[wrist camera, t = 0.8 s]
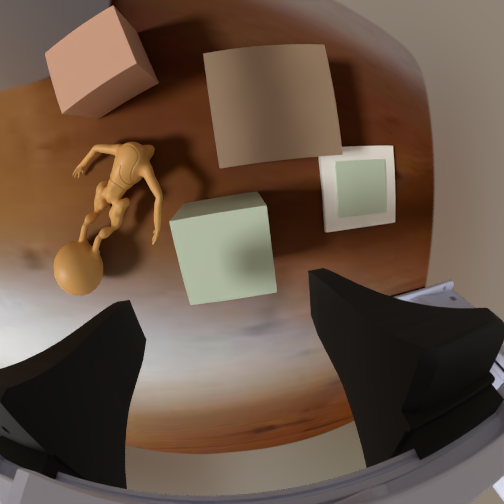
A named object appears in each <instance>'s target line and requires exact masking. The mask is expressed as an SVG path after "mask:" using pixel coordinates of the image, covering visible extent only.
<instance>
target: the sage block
mask: <svg viewBox="0 0 504 504" xmlns="http://www.w3.org/2000/svg"><path fill="white" fill-rule="evenodd" d="M169 222H170V227H171V231H172V235H173V240H174V244H175V248H176V252H177V256H178V260H179V264H180V268H181V272H182V276H183V280H184V284H185V287H186V291H187V295H188V298H189V302H190V305H196V304H203V303H210V302H218V301H224V300H231V299H238V298H244V297H251V296H257V295H263V294H270V293H276V292H277V289H276V280H275V271H274V262H273V254H272V245H271V237H270V229H269V221H268V213H267V205H266V204H265V202H264V201H263V199H262V198H261V196H260V195H259V193H258V192H257V191H256V192H249V193H243V194H236V195H230V196H224V197H218V198H212V199H206V200H200V201H195V202H189V203H184V204H183V206H182V207H181V208H180V209H179V210H178V212H177V213H176V214H175V215H174V216H173V218H172V219H171V220H170V221H169Z"/></svg>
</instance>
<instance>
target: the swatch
mask: <svg viewBox="0 0 504 504" xmlns="http://www.w3.org/2000/svg"><path fill="white" fill-rule="evenodd" d="M342 153H343V155H332V156H319V157H318V158H319V167H320V178H321V189H322V202H323V216H324V231H325V232H326V233H327V232H334V231H340V230H347V229H354V228H361V227H367V226H374V225H381V224H388V223H395V169H394V153H393V146H348V147H342Z"/></svg>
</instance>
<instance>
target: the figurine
mask: <svg viewBox="0 0 504 504" xmlns="http://www.w3.org/2000/svg"><path fill="white" fill-rule="evenodd" d="M154 150H155V148H154V146H152V145H141V144H139V143H137V142H127V143H125V144H114V145H111V144H97V145H95V146H94V147H93V148H92V149H91V151H90V152H89V153H88V154H87V156H86V157H85V158H84V159H83V161H82V162H81V163H80V164H79V165H78V166H77V168H76V169H75V171H74V173H73V175H74V174H75V173H76V174H75V177H76V175H77V173H78V178H79V176H80V173H81V172H82V173H83V174H84V170H83V167H84V166H85V165H86V164H88V163H89V161H90V160H91V159H92V158H93V157H94V156H95V155H96V154H97V153H98V152H102V153H107V154H112V155H115V156H116V157H115V160H114V164H113V168H112V172H111V175H110V179H109V182H107V181H102V182H100V183H99V185H98V186H97V189H96V196H95V200H94V207H95V211H94V213H90V214H88V215H87V216H86V217H85V222H84V224H83V226H82V229H81V234H80V238H79V240H78V241H73V242H70V243H67V244H66V245H64V246H63V247H62V248H61V249H60V250H59V252H58V253H57V255H56V257H55V261H54V275H55V278H56V281H57V283H58V284H59V286H60V287H61V288H62V289H63V290H64V291H66V292H67V293H69V294H71V295H75V296H83V295H86V294H89V293H91V292H92V291H93V290H95V289H96V288H97V286H98V285H99V283H100V281H101V279H102V276H103V262H102V259H101V256H100V251H99V247H100V243H101V240H102V239H103V238H107V237H109V236H110V235H111V233H112V232H113V231H115V230H116V229H118V228H119V227H120V226H121V225H122V219H123V215H124V211H125V210H126V208H127V207H128V206H129V199H128V198H124V199H122V196H123V195H124V193H125V192H126V191H127V189H129V188H131V187H132V186H133V184H136V183H137V182H139V181H140V180H141V179H142V178H143V177H144V178H145V180H146V182H147V184H148V186H149V188H150V189H151V191H152V193H153V194H154V196H155V197H156V200H155V204H154V224H155V230H154V232H153V233H155V234H154V237H153V239H152V241H153V243H152V244H154V243H155V241H156V239H157V237H158V234H159V231H160V224H161V206H162V201H163V194H162V190H161V188H160V185H159V183H158V181H157V179H156V177H155V175H154V171H153V168H152V166H151V164H150V160H151V158H152V156H153V155H154ZM110 203H111V204H112V207H111V209H110V212H109V216H110V219H111V227H105V228H102V229H101V230H100V232H99V234H98V235H97V236H96V238H95V241H94V244H93V246H92V245H90V244H89V243H88V240H87V239H86V236H87V230H88V226H89V225H90V224H92V223H93V222H94V221H95V219H96V218H97V217H98V216H99V215H100V214H101V213H102V212H103V211H104V209H105V208H107V207H108V206H109V204H110Z"/></svg>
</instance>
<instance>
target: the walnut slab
mask: <svg viewBox="0 0 504 504" xmlns="http://www.w3.org/2000/svg"><path fill="white" fill-rule="evenodd" d="M203 56H204V64H205V71H206V79H207V86H208V93H209V101H210V108H211V115H212V121H213V128H214V135H215V142H216V148H217V155H218V161H219V168H226V167H232V166H239V165H246V164H253V163H261V162H269V161H277V160H286V159H296V158H307V157H319V156H332V155H343V153H342V144H341V136H340V128H339V121H338V114H337V108H336V102H335V96H334V90H333V84H332V79H331V74H330V69H329V64H328V59H327V55H326V50H325V46H324V45H315V44H292V45H268V46H255V47H245V48H236V49H229V50H222V51H215V52H209V53H204V54H203Z"/></svg>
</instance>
